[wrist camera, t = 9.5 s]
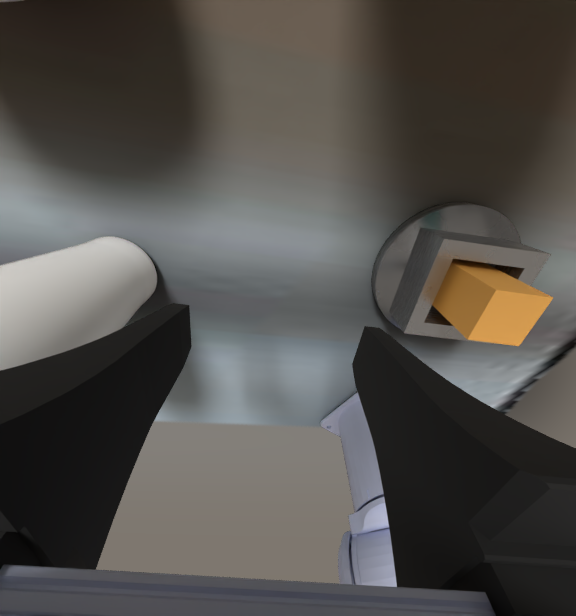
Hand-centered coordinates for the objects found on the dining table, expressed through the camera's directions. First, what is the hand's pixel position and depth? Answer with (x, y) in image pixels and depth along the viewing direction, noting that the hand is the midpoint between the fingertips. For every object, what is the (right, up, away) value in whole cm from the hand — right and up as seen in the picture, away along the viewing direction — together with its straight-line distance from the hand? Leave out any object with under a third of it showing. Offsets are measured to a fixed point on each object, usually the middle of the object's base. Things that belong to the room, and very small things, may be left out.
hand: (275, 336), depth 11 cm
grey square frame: (+12, +4, +9) cm, 15 cm away
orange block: (+12, +3, +8) cm, 15 cm away
